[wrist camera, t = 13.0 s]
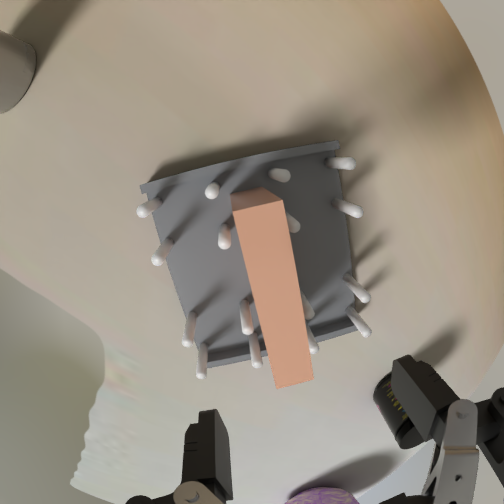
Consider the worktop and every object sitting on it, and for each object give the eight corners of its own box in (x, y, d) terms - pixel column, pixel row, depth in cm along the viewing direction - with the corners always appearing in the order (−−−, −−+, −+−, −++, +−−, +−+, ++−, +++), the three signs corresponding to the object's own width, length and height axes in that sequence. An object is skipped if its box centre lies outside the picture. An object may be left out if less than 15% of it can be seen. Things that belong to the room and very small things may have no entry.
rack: (203, 355, 33) (200, 390, 27) (146, 183, 26) (127, 189, 21) (352, 318, 33) (373, 346, 27) (329, 141, 27) (354, 137, 21)
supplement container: (363, 393, 37) (391, 444, 27) (398, 362, 36) (434, 409, 26) (383, 407, 39) (409, 452, 29) (415, 379, 38) (447, 422, 28)
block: (289, 318, 31) (313, 379, 21) (261, 325, 31) (276, 388, 21) (261, 186, 27) (282, 200, 17) (229, 194, 27) (232, 211, 17)
